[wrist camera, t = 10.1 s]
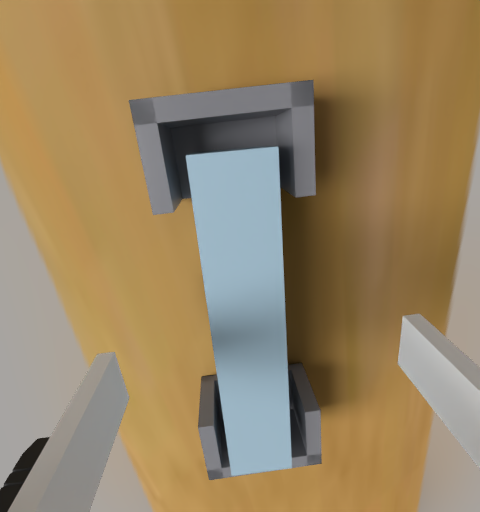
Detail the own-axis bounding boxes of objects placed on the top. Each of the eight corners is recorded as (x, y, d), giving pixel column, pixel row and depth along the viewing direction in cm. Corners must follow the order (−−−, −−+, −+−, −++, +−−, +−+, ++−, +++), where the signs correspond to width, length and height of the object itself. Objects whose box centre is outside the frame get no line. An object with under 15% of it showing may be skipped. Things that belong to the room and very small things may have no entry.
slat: (193, 152, 18) (185, 155, 13) (262, 146, 18) (278, 146, 13) (228, 412, 25) (231, 476, 20) (277, 406, 25) (292, 468, 20)
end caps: (150, 111, 17) (128, 100, 13) (289, 96, 18) (313, 79, 13) (210, 423, 26) (209, 480, 21) (304, 410, 26) (321, 463, 22)
